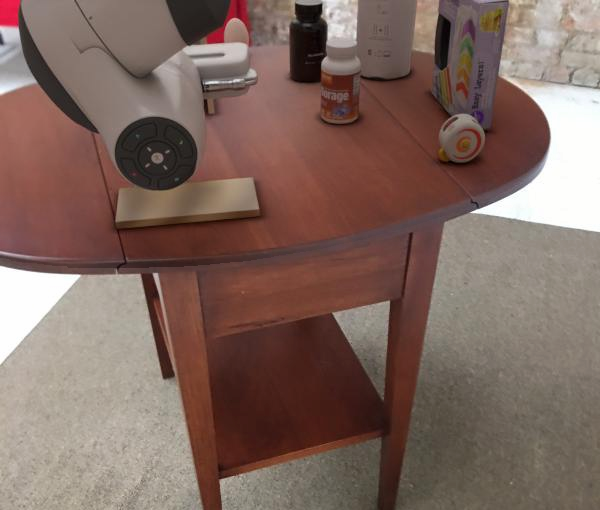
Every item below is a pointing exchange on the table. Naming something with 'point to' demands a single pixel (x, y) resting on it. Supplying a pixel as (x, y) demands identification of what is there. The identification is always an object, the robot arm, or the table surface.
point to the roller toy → (460, 139)
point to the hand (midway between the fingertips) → (160, 51)
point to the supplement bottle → (307, 40)
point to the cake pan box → (469, 56)
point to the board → (187, 203)
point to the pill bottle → (340, 81)
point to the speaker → (385, 37)
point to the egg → (236, 32)
